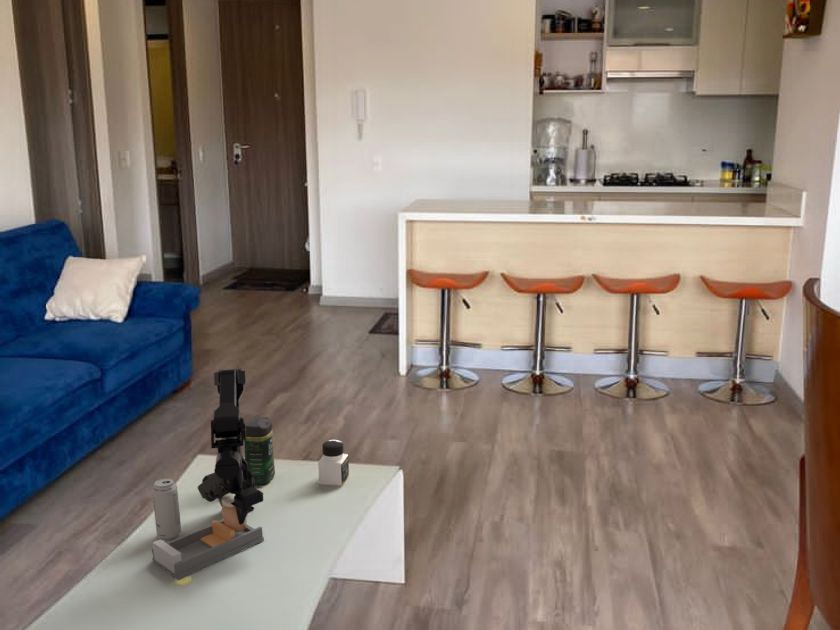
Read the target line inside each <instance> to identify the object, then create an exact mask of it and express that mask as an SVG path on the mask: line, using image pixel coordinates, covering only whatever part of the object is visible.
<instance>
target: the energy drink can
mask: <svg viewBox="0 0 840 630" xmlns="http://www.w3.org/2000/svg"><path fill="white" fill-rule="evenodd" d="M153 484H154V486H153V487H152V499H153V500H152V502H153V510H154V521H155V522H154V523H155V530H156V531H155V532H156V536H157V537H158V539H159V540H160V539H161V540H162V541H164V542H170V541H172V540H175V539H177V538H179V536H180V534H181V533H182V525H181V524H182V523H181V514H180V513H181V511H180V502H179V491H178V485H177V484H176V482H175V479H174V478H171V477H164V478H159V479H157V480H155V482H154V483H153Z"/></svg>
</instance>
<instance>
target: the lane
mask: <svg viewBox="0 0 840 630" xmlns="http://www.w3.org/2000/svg"><path fill="white" fill-rule="evenodd" d="M218 521H219V522H221V523H222V524H223V519H220V520H218ZM246 525H247V527H246V528H245V529H244V530H243V531H241V532H237V533H235V538H233V539H230V540H228V541H226V542H223V543H221V544H219V545H216V546H214V547H212V548H211V547H210V546H208V545H207V544H205V543H204V542H202V541H200V538H203V537H205V536H208V535H210V534H212V533H213V531H212V523H211V524H209V525H207V526H203V527H202V528H201V527H200V528H199V529H197V530H194V531H192V532H189V533H187V534H185V535H182V536H180V537H178V538H176V539H174V540H171V541H162V540H161V539H160V538H159V539H158V540H155V541H153V542H152V546H153V547H152V549H151V550H152V552H151V553H152V557H151V560H152V561H151V562H153V563H154V564H155V565H157V566H159V567H160V568H161V569H162V570H164V571H165V572H167V573H168V574H169V575H171V576H172V577H173V578H175V579H176V580H180V579H183V578H185V577H186V576H187V577H188V576H190V575H191V574H194V573H196V572H199V571H200V570H202V569H205V568H207V567H210V566H212V565H214V564H216V563H218V562H220V561H223V560H225V559H227V558H229V557H231V556H233V555H236V554H238V553H240V552H242V550H243V551H245V550H247V549H249V548H251V547H253V545H254V546H256V545H257V543H258V544H260V543H262V541H263V542H264V541H265V538H264V536H263V527H261V526H258V527H256V528H254V527H252V526H251V525H249V524H247V523H246ZM255 544H256V545H255ZM250 546H251V547H250ZM246 548H247V549H246ZM244 549H245V550H244Z"/></svg>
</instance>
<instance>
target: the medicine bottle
mask: <svg viewBox="0 0 840 630" xmlns="http://www.w3.org/2000/svg"><path fill="white" fill-rule="evenodd" d="M317 465H318V468H317V469H318V483H319V485H324V486H325V485H326V486H339V487H343V486H344V485H345V483H346V481H347V480H348V478H349V477H350V467H349V454H347V453H344V443H343V441H341V440H337V439H330V440H327V441H324V442H323V443H322V457H321V458H320V459H319V460H318V462H317Z"/></svg>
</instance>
